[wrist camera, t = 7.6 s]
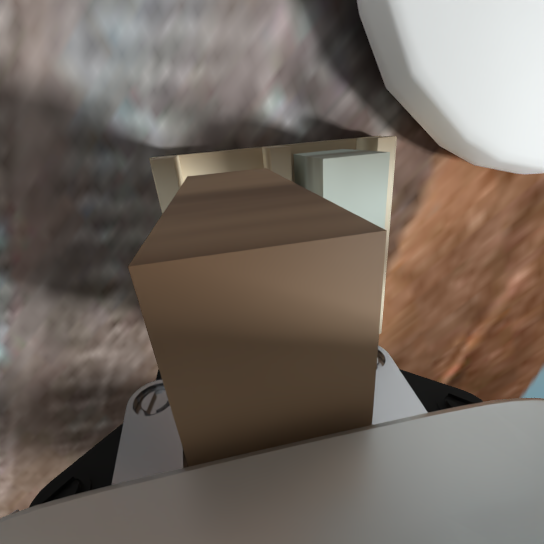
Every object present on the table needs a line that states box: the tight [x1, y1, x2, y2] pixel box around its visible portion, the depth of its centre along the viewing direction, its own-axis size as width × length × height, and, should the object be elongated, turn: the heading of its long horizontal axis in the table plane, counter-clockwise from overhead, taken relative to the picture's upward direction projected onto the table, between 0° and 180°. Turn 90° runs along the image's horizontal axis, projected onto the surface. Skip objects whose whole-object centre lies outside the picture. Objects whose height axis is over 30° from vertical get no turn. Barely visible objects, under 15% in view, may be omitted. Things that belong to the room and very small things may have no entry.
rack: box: [149, 136, 397, 334], centre depth 17 cm, size 12×13×6 cm
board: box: [128, 168, 387, 467], centre depth 10 cm, size 11×3×9 cm, turn 5°
